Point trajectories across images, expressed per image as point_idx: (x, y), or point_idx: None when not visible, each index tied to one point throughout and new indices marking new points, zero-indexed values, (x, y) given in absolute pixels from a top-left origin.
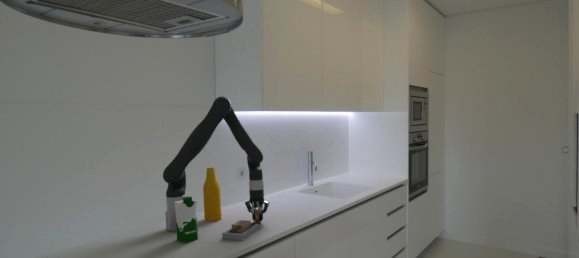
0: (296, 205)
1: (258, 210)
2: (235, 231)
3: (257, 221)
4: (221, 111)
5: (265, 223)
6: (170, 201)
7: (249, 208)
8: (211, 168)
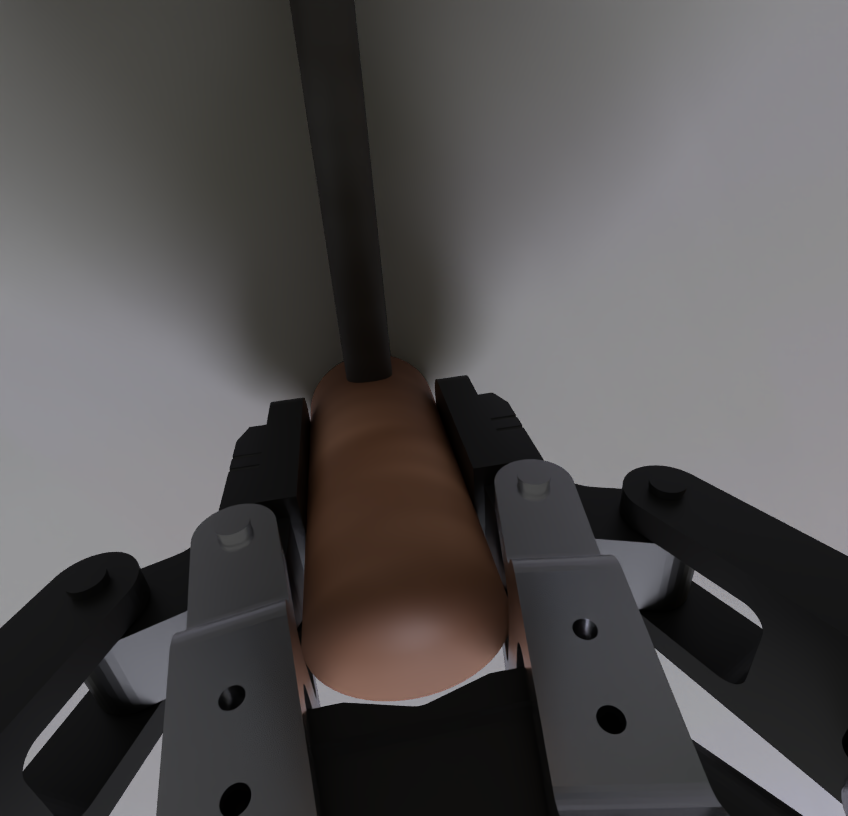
0: None
1: (331, 609)
2: None
3: (345, 372)
4: None
5: (185, 421)
6: None
7: (730, 568)
8: None
